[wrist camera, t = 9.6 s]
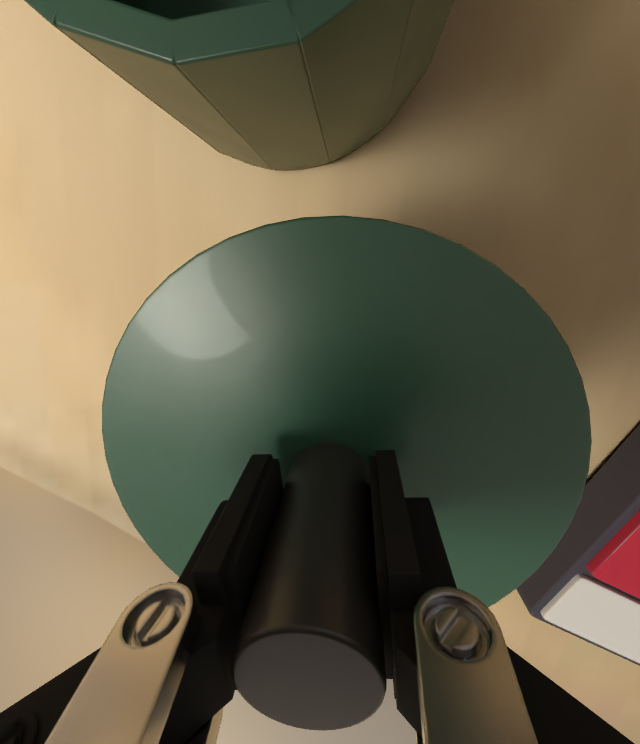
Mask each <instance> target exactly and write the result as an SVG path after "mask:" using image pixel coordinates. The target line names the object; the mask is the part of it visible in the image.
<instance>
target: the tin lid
mask: <svg viewBox="0 0 640 744" xmlns="http://www.w3.org/2000/svg"><path fill="white" fill-rule="evenodd" d="M102 434H103V441H104V449H105V456H106V460H107V464H108V467H109V471H110V475H111V478H112V482H113V484H114V487H115V489H116V491H117V494H118V496H119V499H120V501H121V503H122V506H123V507H124V509H125V511H126V513H127V514H128V516H129V518H130V520H131V521H132V523H133V525H134V527H135V528H136V529H137V531H138V532H139V534H140V535H141V536H142V538H143V539H144V540H145V542H146V543H147V544H148V546H149V547H150V548H151V549H152V550H153V552H154V553H155V554H156V555H157V556H158V557H159V558H160V559H161V560H162V561H163V562H164V564H166V566H168V567H169V568H170V569H171V570H172V571H173V572H174V573H175V574H177V575H178V576H179V577H180V576H181V574H182V572H183V570H184V568H185V566H186V565H187V563H188V561H189V559H190V557H191V555H192V554H193V552H194V550H195V548H196V546H197V544H198V543H199V541H200V539H201V537H202V535H203V533H204V532H205V530H206V528H207V526H208V524H209V522H210V521H211V519H212V517H213V515H214V513H215V511H216V510H217V508H218V506H219V505H220V503H221V502H222V501H224V500H229V498H230V496H231V494H232V492H233V490H234V488H235V486H236V484H237V482H238V480H239V478H240V476H241V475H242V473H243V471H244V469H245V467H246V465H247V463H248V461H249V459H250V457H251V456H252V455H253V454H271V455H272V456H273V459H278V460H279V463H280V470H281V476H282V482H283V488H284V489H283V492H282V496H281V499H280V502H279V506H278V509H277V512H276V515H275V519H274V522H273V525H272V529H271V532H270V535H269V538H268V542H267V545H266V548H265V551H264V555H263V558H262V561H261V565H260V568H259V571H258V574H257V578H256V581H255V584H254V588H253V591H252V594H251V597H250V601H249V604H248V607H247V611H246V614H245V617H244V620H243V624H242V627H241V630H240V634H239V637H238V640H237V643H236V647H235V650H234V653H233V657H232V662H231V670H232V678H233V681H234V684H235V686H236V688H237V690H238V692H239V693H240V694H241V696H242V697H243V698H244V699H245V700H246V701H247V702H248V703H249V704H250V705H251V706H252V707H253V708H255V709H256V710H257V711H259V712H260V713H262V714H264V715H265V716H267V717H269V718H271V719H273V720H276V721H278V722H281V723H283V724H286V725H290V726H293V727H297V728H303V729H309V730H336V729H342V728H347V727H351V726H353V725H356V724H359V723H361V722H363V721H365V720H366V719H368V718H369V717H371V716H372V715H373V714H374V713H375V712H376V711H377V710H378V708H379V707H380V706H381V704H382V702H383V699H384V695H385V692H386V669H385V656H384V643H383V632H382V626H381V624H380V619H379V604H378V589H377V575H376V560H375V545H374V530H373V515H372V501H371V486H370V469H369V456H376V450H395V452H396V457H397V462H398V467H399V472H400V477H401V481H402V486H403V491H404V496H405V498H407V497H428V498H429V500H430V502H431V505H432V508H433V512H434V515H435V518H436V522H437V525H438V528H439V531H440V535H441V538H442V541H443V544H444V548H445V551H446V554H447V557H448V561H449V564H450V567H451V570H452V574H453V577H454V580H455V583H456V587H457V589H461V590H464V591H466V592H468V593H470V594H472V595H474V596H475V597H476V598H478V599H479V600H480V601H482V602H483V603H484V604H485V605H486V606H487V607H489V606H491V605H493V604H495V603H496V602H498V601H499V600H501V599H502V598H503V597H505V596H506V595H508V594H509V593H510V592H512V591H513V590H515V589H516V588H517V587H519V586H520V585H521V584H522V583H523V582H524V581H525V580H526V579H527V578H528V577H530V576H531V575H532V574H533V573H534V572H535V571H536V570H537V569H538V568H539V567H540V566H541V564H542V563H543V562H544V561H545V560H546V559H547V557H548V556H549V555H550V554H551V553H552V551H553V550H554V549H555V548H556V546H557V544H558V543H559V541H560V540H561V538H562V536H563V535H564V533H565V532H566V530H567V529H568V527H569V525H570V523H571V521H572V519H573V516H574V514H575V512H576V510H577V507H578V505H579V503H580V501H581V498H582V494H583V490H584V486H585V483H586V479H587V475H588V471H589V462H590V452H591V441H592V440H591V426H590V411H589V406H588V402H587V398H586V394H585V390H584V385H583V381H582V378H581V375H580V373H579V371H578V368H577V366H576V364H575V361H574V359H573V357H572V354H571V352H570V350H569V347H568V345H567V344H566V342H565V341H564V339H563V338H562V336H561V334H560V333H559V331H558V330H557V328H556V327H555V325H554V323H553V322H552V320H551V319H550V317H549V316H548V315H547V314H546V313H545V311H544V310H543V309H542V308H541V307H540V306H539V305H538V304H537V302H536V301H535V300H534V299H533V298H532V297H531V296H530V295H529V294H528V292H527V291H526V290H525V289H524V288H523V287H521V286H520V285H519V284H518V283H516V282H515V281H514V280H513V279H512V278H510V277H509V276H508V275H507V274H505V273H504V272H503V271H502V270H501V269H499V268H498V267H497V266H496V265H494V264H493V263H491V262H489V261H488V260H486V259H484V258H483V257H481V256H479V255H477V254H476V253H474V252H472V251H471V250H469V249H467V248H466V247H464V246H462V245H461V244H458V243H456V242H453V241H451V240H448V239H446V238H443V237H441V236H438V235H436V234H433V233H431V232H429V231H426V230H424V229H420V228H416V227H412V226H408V225H404V224H399V223H395V222H391V221H387V220H383V219H372V218H362V217H352V216H325V217H304V218H298V219H293V220H288V221H283V222H277V223H272V224H267V225H263V226H260V227H257V228H255V229H252V230H249V231H246V232H243V233H240V234H238V235H235V236H232V237H229V238H227V239H225V240H223V241H222V242H220V243H218V244H216V245H214V246H212V247H210V248H208V249H206V250H205V251H203V252H201V253H199V254H197V255H196V256H194V257H193V258H192V259H190V260H189V261H188V262H186V263H185V264H184V265H182V266H181V267H180V268H178V269H177V270H176V271H174V272H173V273H172V274H170V275H169V276H168V277H167V278H166V279H165V280H164V281H163V282H162V283H161V284H160V285H159V286H158V287H157V288H156V289H155V290H154V291H153V292H152V293H151V294H150V295H149V297H148V298H147V299H146V300H145V302H144V303H143V304H142V306H141V307H140V309H139V310H138V311H137V313H136V314H135V316H134V317H133V318H132V320H131V321H130V323H129V324H128V326H127V328H126V330H125V332H124V334H123V336H122V338H121V340H120V342H119V344H118V346H117V348H116V350H115V353H114V356H113V359H112V362H111V365H110V369H109V372H108V375H107V378H106V385H105V391H104V398H103V404H102Z"/></svg>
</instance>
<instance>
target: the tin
mask: <svg viewBox="0 0 640 744" xmlns="http://www.w3.org/2000/svg"><path fill="white" fill-rule="evenodd" d="M24 1H26V2H27V3H28V4H29V5H30V6H31V7H32V8H34V9H35V10H36V11H37V12H38V13H39V14H40V15H42V16H43V17H44V18H45V19H46V20H47V21H49V22H50V23H51V24H52V25H53V26H55V27H56V28H57V29H58V30H60V31H61V32H62V33H64V34H65V35H66V36H68V37H69V38H70V39H72V40H73V41H74V42H75V43H77V44H78V45H79V46H81V47H82V48H83V49H85V50H86V51H87V52H89V53H90V54H91V55H92V56H94V57H95V58H96V59H98V60H99V61H100V62H102V63H103V64H104V65H106V66H107V67H108V68H109V69H111V70H112V71H113V72H115V73H116V74H117V75H119V76H120V77H121V78H123V79H124V80H125V81H126V82H128V83H129V84H130V85H132V86H133V87H134V88H136V89H137V90H138V91H140V92H141V93H142V94H143V95H145V96H146V97H147V98H149V99H150V100H151V101H153V102H154V103H155V104H157V105H158V106H159V107H160V108H162V109H163V110H164V111H166V112H167V113H168V114H170V115H171V116H172V117H174V118H175V119H176V120H177V121H179V122H180V123H181V124H183V125H184V126H185V127H187V128H188V129H189V130H191V131H192V132H193V133H194V134H196V135H197V136H198V137H200V138H201V139H202V140H204V141H205V142H206V143H208V144H209V145H210V146H211V147H213V148H214V149H215V150H217V151H218V152H220V153H222V154H225V155H228V156H231V157H233V158H235V159H238V160H240V161H243V162H245V163H248V164H250V165H254V166H258V167H263V168H267V169H271V170H273V169H274V170H298V169H306V168H311V167H316V166H320V165H323V164H326V163H329V162H332V161H334V160H337V159H339V158H341V157H343V156H345V155H346V154H348V153H350V152H352V151H354V150H356V149H357V148H358V147H360V146H361V145H363V144H364V143H365V142H367V141H368V140H369V139H371V138H372V137H373V136H374V135H375V134H376V133H377V132H379V131H381V130H382V129H383V128H384V127H385V126H386V124H387V123H388V122H389V121H390V120H391V118H392V117H393V116H394V115H395V114H396V112H397V111H398V110H399V109H400V107H401V106H402V105H403V104H404V102H405V101H406V99H407V98H408V96H409V94H410V93H411V91H412V90H413V88H414V87H415V85H416V84H417V82H418V81H419V80H420V78H421V77H422V75H423V74H424V73H425V71H426V69H427V67H428V65H429V62H430V60H431V57H432V55H433V52H434V50H435V47H436V45H437V42H438V40H439V37H440V34H441V32H442V29H443V27H444V24H445V22H446V19H447V17H448V14H449V12H450V9H451V7H452V4H453V2H454V0H24Z"/></svg>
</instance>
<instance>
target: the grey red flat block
mask: <svg viewBox="0 0 640 744" xmlns="http://www.w3.org/2000/svg"><path fill="white" fill-rule="evenodd" d="M516 589H517V591H518V593H519V595H520V596H521V598H522V600H523V602H524V604H525V606H526V607H527V609H528V611H529V613H530V614H531V615H532V616H533V617H535V618H537V619H539V620H542V621H544V622H546V623H548V624H550V625H553V626H555V627H557V628H559V629H561V630H563V631H566V632H568V633H570V634H572V635H574V636H576V637H579V638H581V639H583V640H585V641H587V642H589V643H592V644H594V645H596V646H598V647H600V648H603V649H605V650H607V651H609V652H611V653H613V654H616V655H618V656H620V657H622V658H624V659H626V660H629V661H631V662H633V663H635V664H637V665H639V666H640V424H639V425H638V426H637V428H636V429H635V430H634V431H633V432H632V433H631V434H630V436H629V437H628V438H627V439H626V440H625V441H624V442H623V443H622V445H621V446H620V447H619V448H618V449H617V450H616V451H615V453H614V454H613V455H612V456H611V457H610V458H609V459H608V460H607V462H606V463H605V464H604V465H603V466H602V467H601V468H600V470H599V471H598V472H597V473H596V474H595V475H594V476H593V477H592V479H591V480H590V481H589V482H588V483H587V484H586V485H585V487H584V490H583V494H582V498H581V501H580V503H579V505H578V507H577V510H576V512H575V514H574V516H573V519H572V521H571V523H570V525H569V527H568V529H567V530H566V532H565V533H564V535H563V536H562V538H561V540H560V541H559V543H558V544H557V546H556V548H555V549H554V550H553V551H552V553H551V554H550V555H549V556H548V557H547V559H546V560H545V561H544V562H543V563H542V564H541V566H540V567H539V568H538V569H537V570H536V571H535V572H534V573H533V574H532V575H531V576H530V577H528V578H527V579H526V580H525V581H524V582H523V583H522V584H521V585H520V586H519V587H517V588H516Z"/></svg>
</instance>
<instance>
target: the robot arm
mask: <svg viewBox="0 0 640 744" xmlns="http://www.w3.org/2000/svg"><path fill="white" fill-rule="evenodd" d="M369 469H370V486H371V501H372V515H373V530H374V545H375V560H376V575H377V589H378V604H379V619H380V624H381V626H382V632H383V643H384V656H385V669H386V679H393V683H394V695H395V699H396V703H397V709H398V710H399V712H400V713H401V714H402V715H403V716H404V717H405V718H406V720H407V721H408V722H409V723H410V724H411V726H412V727H413V728H414V729H415V733H416V744H634V743H633V742H632V741H630V740H629V739H628V738H626V737H625V736H624V735H622V734H621V733H620V732H619V731H617V730H616V729H615V728H613V727H612V726H611V725H609V724H608V723H607V722H605V721H604V720H603V719H601V718H600V717H599V716H598V715H596V714H595V713H594V712H592V711H591V710H590V709H588V708H587V707H586V706H584V705H583V704H582V703H581V702H579V701H578V700H577V699H575V698H574V697H573V696H571V695H570V694H569V693H567V692H566V691H565V690H563V689H562V688H561V687H560V686H558V685H557V684H556V683H554V682H553V681H552V680H550V679H549V678H548V677H546V676H545V675H544V674H543V673H541V672H540V671H539V670H537V669H536V668H535V667H533V666H532V665H531V664H529V663H528V662H527V661H525V660H524V659H523V658H522V657H520V656H519V655H518V654H516V653H515V652H514V651H512V650H511V649H510V648H508V647H507V646H506V643H505V640H504V637H503V634H502V631H501V628H500V626H499V624H498V622H497V620H496V618H495V616H494V614H493V613H492V612H491V611H490V610H489V608H488V607H487V606H486V605H485V604H484V603H483V602H482V601H480V600H479V599H478V598H476V597H475V596H474V595H472V594H470V593H468V592H466V591H464V590H461V589H457V587H456V583H455V580H454V577H453V574H452V570H451V567H450V564H449V561H448V557H447V554H446V551H445V548H444V544H443V541H442V538H441V535H440V531H439V528H438V525H437V522H436V518H435V515H434V512H433V508H432V505H431V502H430V500H429V498H428V497H407V498H405V496H404V491H403V486H402V481H401V477H400V472H399V467H398V462H397V457H396V452H395V450H376V456H369ZM283 489H284V488H283V482H282V476H281V470H280V463H279V460H278V459H273V456H272V455H271V454H253V455H252V456H251V457H250V459H249V461H248V463H247V465H246V467H245V469H244V471H243V473H242V475H241V476H240V478H239V480H238V482H237V484H236V486H235V488H234V490H233V492H232V494H231V496H230V498H229V500H224V501H222V502H221V503H220V505H219V506H218V508H217V510H216V511H215V513H214V515H213V517H212V519H211V521H210V522H209V524H208V526H207V528H206V530H205V532H204V533H203V535H202V537H201V539H200V541H199V543H198V544H197V546H196V548H195V550H194V552H193V554H192V555H191V557H190V559H189V561H188V563H187V565H186V566H185V568H184V570H183V572H182V574H181V576H180V577H179V579H178V581H177V583H175V582H169V583H164V584H159V585H157V586H155V587H152V588H150V589H148V590H147V591H145V592H144V593H142V594H141V595H139V596H138V597H136V598H135V599H134V600H133V601H132V602H131V603H130V604H129V605H128V606H127V607H126V609H125V610H124V612H123V613H122V614H121V616H120V617H119V619H118V620H117V622H116V624H115V625H114V627H113V629H112V630H111V632H110V634H109V635H108V637H107V639H106V640H105V642H104V644H103V646H102V647H101V648H99V649H98V650H96V651H95V652H93V653H92V654H91V655H89V656H87V657H86V658H84V659H83V660H81V661H79V662H78V663H76V664H75V665H73V666H72V667H70V668H69V669H67V670H66V671H64V672H63V673H61V674H60V675H58V676H56V677H55V678H53V679H52V680H50V681H49V682H47V683H46V684H44V685H43V686H41V687H40V688H38V689H37V690H35V691H33V692H32V693H30V694H29V695H27V696H26V697H24V698H23V699H21V700H20V701H18V702H17V703H15V704H14V705H12V706H10V707H9V708H8V709H6V710H4V711H3V712H1V713H0V744H216V741H217V737H218V732H219V728H220V724H221V720H222V713H223V707H224V706H225V705H226V704H227V703H228V702H229V701H231V700H232V698H233V695H234V691H235V690H237V688H236V686H235V684H234V681H233V678H232V670H231V662H232V657H233V653H234V650H235V647H236V643H237V640H238V637H239V634H240V630H241V627H242V624H243V620H244V617H245V614H246V611H247V607H248V604H249V601H250V597H251V594H252V591H253V588H254V584H255V581H256V578H257V574H258V571H259V568H260V565H261V561H262V558H263V555H264V551H265V548H266V545H267V542H268V538H269V535H270V532H271V529H272V525H273V522H274V519H275V515H276V512H277V509H278V506H279V502H280V499H281V496H282V492H283Z"/></svg>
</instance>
